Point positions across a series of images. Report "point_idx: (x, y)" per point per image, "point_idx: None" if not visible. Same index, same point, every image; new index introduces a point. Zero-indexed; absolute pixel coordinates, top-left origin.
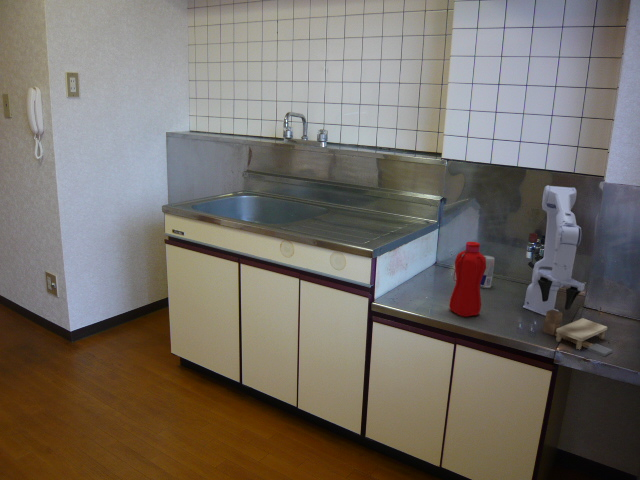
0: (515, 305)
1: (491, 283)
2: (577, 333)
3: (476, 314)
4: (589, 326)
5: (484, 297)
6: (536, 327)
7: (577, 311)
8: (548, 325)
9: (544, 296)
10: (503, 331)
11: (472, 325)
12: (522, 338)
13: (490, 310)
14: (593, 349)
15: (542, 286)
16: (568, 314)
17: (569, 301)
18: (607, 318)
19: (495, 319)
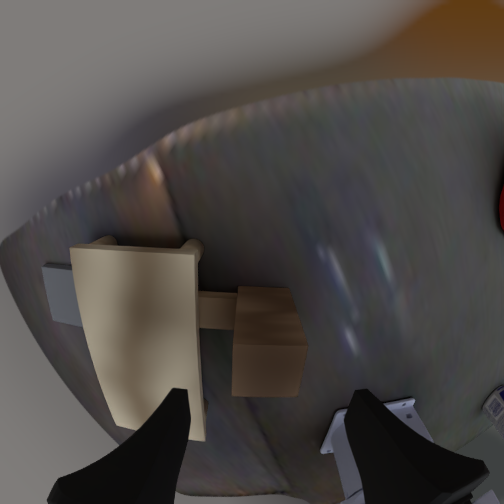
0: (432, 390)
1: (486, 413)
2: (107, 289)
3: (501, 197)
4: (139, 396)
5: (496, 352)
6: (328, 304)
7: (283, 476)
8: (272, 305)
9: (371, 417)
10: (397, 137)
11: (471, 108)
12: (312, 131)
13: (482, 290)
14: (69, 270)
15: (431, 463)
16: (292, 456)
17: (134, 433)
18: (214, 483)
19: (459, 231)
